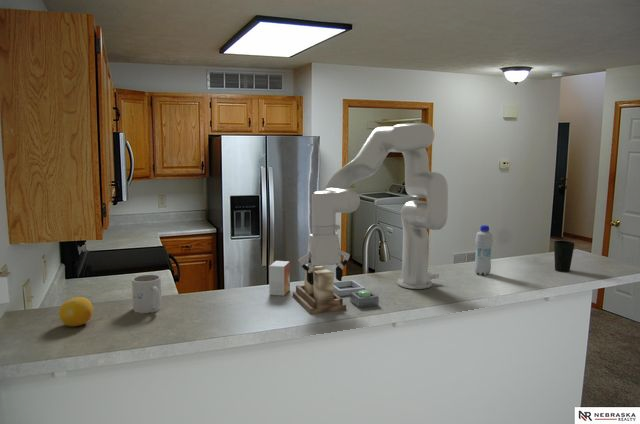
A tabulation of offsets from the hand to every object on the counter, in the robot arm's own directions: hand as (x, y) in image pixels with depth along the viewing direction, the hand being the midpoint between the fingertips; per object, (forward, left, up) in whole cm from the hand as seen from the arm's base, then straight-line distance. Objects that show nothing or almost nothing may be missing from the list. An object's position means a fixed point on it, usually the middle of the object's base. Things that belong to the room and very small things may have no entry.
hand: (324, 281), depth 160 cm
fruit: (+74, -9, -8) cm, 75 cm away
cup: (-109, -8, -8) cm, 110 cm away
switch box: (-13, +2, -8) cm, 16 cm away
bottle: (-74, -15, -8) cm, 76 cm away
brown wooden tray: (+1, -4, -8) cm, 9 cm away
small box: (+10, -19, -8) cm, 23 cm away
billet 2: (+1, 0, -7) cm, 7 cm away
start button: (-13, +2, -7) cm, 15 cm away
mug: (+54, -15, -8) cm, 56 cm away
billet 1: (+1, -9, -7) cm, 11 cm away
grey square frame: (-13, -13, -8) cm, 21 cm away
